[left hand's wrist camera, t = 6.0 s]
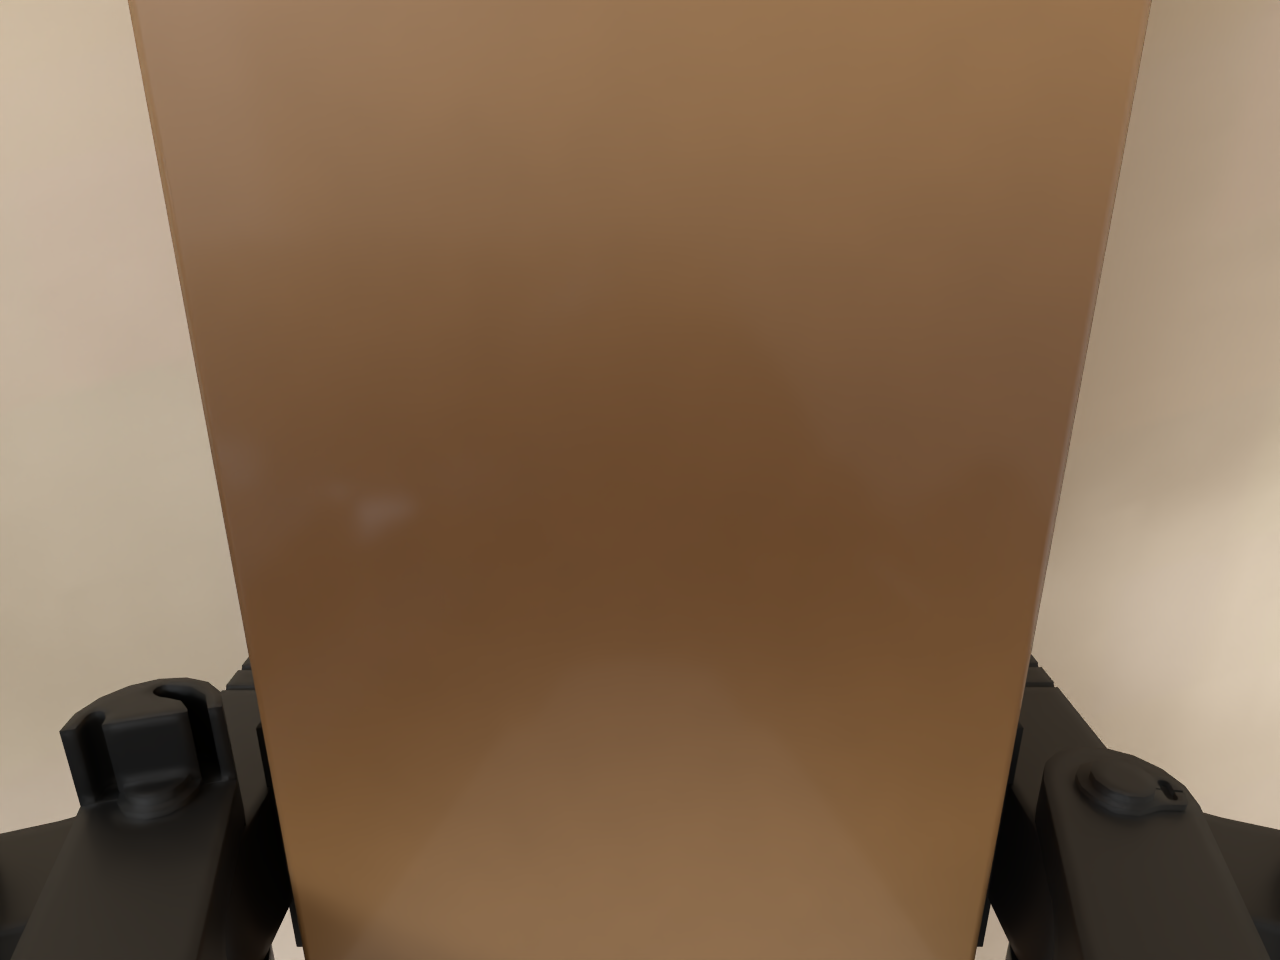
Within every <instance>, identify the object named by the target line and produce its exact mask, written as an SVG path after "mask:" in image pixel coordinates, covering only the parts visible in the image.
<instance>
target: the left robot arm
mask: <svg viewBox="0 0 1280 960" xmlns="http://www.w3.org/2000/svg"><path fill="white" fill-rule="evenodd" d="M59 732H60V735H61V739H62V742H63V746H64V749H65V753H66V756H67V760H68V763H69V767H70V770H71V774H72V777H73V781H74V784H75V788H76V792H77V795H78V799H79V802H80V806H81V807H80V809H79V811H78V813H77V816H76V817H73V818H69V819H65V820H62V821H58V822H53V823H49V824H44V825H39V826H35V827H30V828H25V829H21V830H16V831H11V832H7V833H2V834H0V960H274V955H273V950H272V945H271V944H272V942H273V940H274V938H275V935H276V933H277V931H278V929H279V927H280V925H281V923H282V921H283V919H284V916H285V914H286V912H287V910H288V908H290V913H291V918H292V924H293V929H294V934H295V940H296V945H297V947H303V945H302V940H301V934H300V929H299V924H298V918H297V913H296V907H295V902H294V897H293V891H292V886H291V880H290V875H289V869H288V864H287V859H286V853H285V848H284V842H283V837H282V832H281V826H280V821H279V815H278V810H277V805H276V799H275V794H274V788H273V783H272V777H271V772H270V767H269V761H268V756H267V750H266V745H265V740H264V734H263V729H262V723H261V718H260V713H259V707H258V702H257V696H256V691H255V685H254V680H253V675H252V669H251V664H250V658H248V659H247V660H246V661H245V663H244V664H243V665H242V670H238V671H237V673H236V674H235V675H234V676H233V678H232V679H231V680H230V681H229V683H228V684H227V685H226V690H222V691H221V692H220V691H219V690H217V689H216V688H215V687H214V686H212V685H211V684H210V683H209V682H205V681H200V680H196V679H191V678H169V679H157V680H153V681H148V682H144V683H140V684H135V685H131V686H128V687H125V688H123V689H120V690H118V691H116V692H113V693H111V694H108V695H106V696H103V697H101V698H99V699H97V700H96V701H94V702H93V703H91V704H90V705H88V706H86V707H85V708H83V709H82V710H80V711H79V712H77V713H76V714H74V716H73V717H72V718H71V719H70V720H69V721H68V722H67V723H66V725H65V726H64V727H63V728H62V729H61V730H60V731H59ZM990 905H992V907H993V909H994V911H995V913H996V915H997V917H998V920H999V922H1000V924H1001V926H1002V928H1003V930H1004V932H1005V934H1006V936H1007V938H1008V941H1009V945H1008V950H1007V955H1006V960H1280V830H1277V829H1273V828H1268V827H1263V826H1258V825H1254V824H1249V823H1244V822H1240V821H1235V820H1230V819H1226V818H1221V817H1217V816H1214V815H1210V814H1206V813H1203V812H1202V810H1201V808H1200V805H1199V804H1198V803H1197V801H1196V800H1195V799H1194V797H1193V796H1192V795H1191V793H1190V792H1189V791H1188V789H1187V788H1186V787H1185V786H1184V785H1183V784H1181V783H1180V782H1179V781H1177V780H1176V779H1175V778H1173V777H1172V776H1171V775H1169V774H1168V773H1167V772H1165V771H1164V770H1163V769H1161V768H1159V767H1157V766H1155V765H1153V764H1150V763H1148V762H1146V761H1144V760H1142V759H1140V758H1138V757H1136V756H1133V755H1129V754H1125V753H1122V752H1118V751H1114V750H1110V749H1107V748H1106V747H1105V745H1104V744H1103V743H1102V742H1101V741H1100V739H1099V738H1098V737H1097V736H1096V734H1095V733H1094V732H1093V731H1092V729H1091V728H1090V727H1089V726H1088V724H1087V723H1086V722H1085V721H1084V719H1083V718H1082V717H1081V716H1080V714H1079V713H1078V712H1077V711H1076V709H1075V708H1074V707H1073V706H1072V704H1071V703H1070V702H1069V701H1068V699H1067V698H1066V697H1065V696H1064V694H1063V693H1062V692H1061V691H1060V689H1059V688H1058V687H1054V682H1053V681H1052V680H1051V678H1050V677H1049V676H1048V675H1047V673H1046V672H1045V671H1044V670H1043V668H1042V667H1038V662H1037V661H1036V660H1035V658H1034V657H1033V656H1032V655H1031V656H1030V661H1029V667H1028V672H1027V678H1026V683H1025V688H1024V694H1023V699H1022V705H1021V710H1020V716H1019V721H1018V726H1017V732H1016V737H1015V743H1014V748H1013V753H1012V759H1011V764H1010V770H1009V775H1008V781H1007V786H1006V791H1005V797H1004V802H1003V808H1002V813H1001V818H1000V824H999V829H998V835H997V840H996V845H995V851H994V856H993V862H992V867H991V873H990V878H989V883H988V889H987V894H986V900H985V905H984V910H983V916H982V921H981V927H980V932H979V938H978V943H977V947H983V942H984V937H985V931H986V926H987V921H988V915H989V910H990Z"/></svg>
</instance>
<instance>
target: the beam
mask: <svg viewBox="0 0 1280 960" xmlns="http://www.w3.org/2000/svg"><path fill="white" fill-rule="evenodd" d="M1151 1H1152V0H128V3H129V9H130V14H131V20H132V25H133V30H134V36H135V41H136V47H137V52H138V58H139V63H140V68H141V74H142V79H143V85H144V90H145V95H146V101H147V106H148V112H149V117H150V122H151V128H152V133H153V139H154V144H155V150H156V155H157V160H158V166H159V171H160V177H161V182H162V187H163V193H164V198H165V204H166V209H167V215H168V220H169V225H170V231H171V236H172V242H173V247H174V252H175V258H176V263H177V269H178V274H179V279H180V285H181V290H182V296H183V301H184V307H185V312H186V317H187V323H188V328H189V334H190V339H191V344H192V350H193V355H194V361H195V366H196V371H197V377H198V382H199V388H200V393H201V399H202V404H203V409H204V415H205V420H206V426H207V431H208V436H209V442H210V447H211V453H212V458H213V464H214V469H215V474H216V480H217V485H218V491H219V496H220V501H221V507H222V512H223V518H224V523H225V528H226V534H227V539H228V545H229V550H230V556H231V561H232V566H233V572H234V577H235V583H236V588H237V593H238V599H239V604H240V610H241V615H242V620H243V626H244V631H245V637H246V642H247V648H248V653H249V658H250V664H251V669H252V675H253V680H254V685H255V691H256V696H257V702H258V707H259V713H260V718H261V723H262V729H263V734H264V740H265V745H266V750H267V756H268V761H269V767H270V772H271V777H272V783H273V788H274V794H275V799H276V805H277V810H278V815H279V821H280V826H281V832H282V837H283V842H284V848H285V853H286V859H287V864H288V869H289V875H290V880H291V886H292V891H293V897H294V902H295V907H296V913H297V918H298V924H299V929H300V934H301V940H302V945H303V951H304V956H305V960H974V959H975V954H976V948H977V943H978V938H979V932H980V927H981V921H982V916H983V910H984V905H985V900H986V894H987V889H988V883H989V878H990V873H991V867H992V862H993V856H994V851H995V845H996V840H997V835H998V829H999V824H1000V818H1001V813H1002V808H1003V802H1004V797H1005V791H1006V786H1007V781H1008V775H1009V770H1010V764H1011V759H1012V753H1013V748H1014V743H1015V737H1016V732H1017V726H1018V721H1019V716H1020V710H1021V705H1022V699H1023V694H1024V688H1025V683H1026V678H1027V672H1028V667H1029V661H1030V656H1031V651H1032V645H1033V640H1034V634H1035V629H1036V624H1037V618H1038V613H1039V607H1040V602H1041V596H1042V591H1043V586H1044V580H1045V575H1046V569H1047V564H1048V559H1049V553H1050V548H1051V542H1052V537H1053V532H1054V526H1055V521H1056V515H1057V510H1058V504H1059V499H1060V494H1061V488H1062V483H1063V477H1064V472H1065V467H1066V461H1067V456H1068V450H1069V445H1070V439H1071V434H1072V429H1073V423H1074V418H1075V412H1076V407H1077V402H1078V396H1079V391H1080V385H1081V380H1082V375H1083V369H1084V364H1085V358H1086V353H1087V347H1088V342H1089V337H1090V331H1091V326H1092V320H1093V315H1094V310H1095V304H1096V299H1097V293H1098V288H1099V282H1100V277H1101V272H1102V266H1103V261H1104V255H1105V250H1106V245H1107V239H1108V234H1109V228H1110V223H1111V218H1112V212H1113V207H1114V201H1115V196H1116V190H1117V185H1118V180H1119V174H1120V169H1121V163H1122V158H1123V153H1124V147H1125V142H1126V136H1127V131H1128V125H1129V120H1130V115H1131V109H1132V104H1133V98H1134V93H1135V88H1136V82H1137V77H1138V71H1139V66H1140V61H1141V55H1142V50H1143V44H1144V39H1145V33H1146V28H1147V23H1148V17H1149V12H1150V6H1151Z"/></svg>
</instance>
